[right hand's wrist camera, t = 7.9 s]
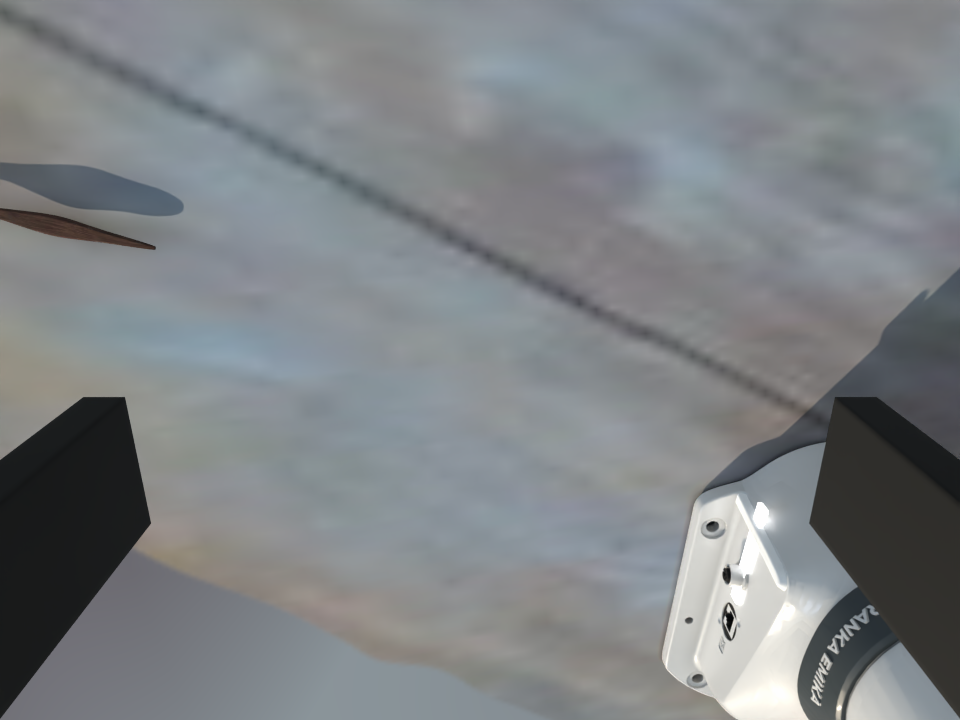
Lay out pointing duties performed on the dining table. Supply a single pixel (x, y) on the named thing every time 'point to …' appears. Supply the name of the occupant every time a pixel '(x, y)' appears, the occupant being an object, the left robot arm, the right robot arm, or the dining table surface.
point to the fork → (66, 228)
